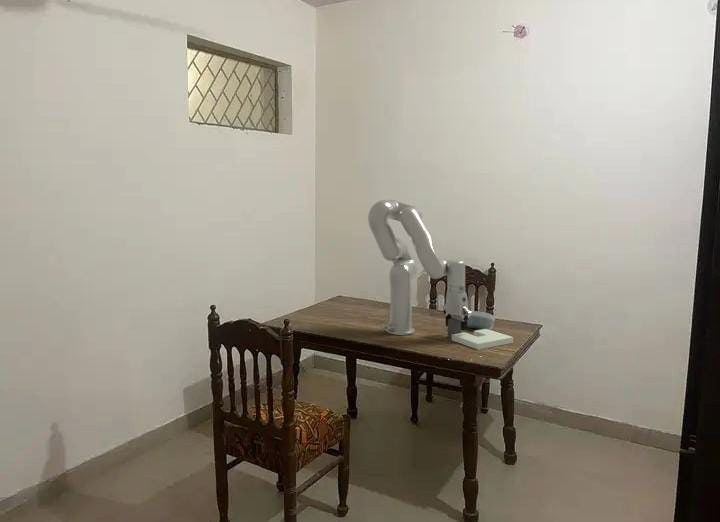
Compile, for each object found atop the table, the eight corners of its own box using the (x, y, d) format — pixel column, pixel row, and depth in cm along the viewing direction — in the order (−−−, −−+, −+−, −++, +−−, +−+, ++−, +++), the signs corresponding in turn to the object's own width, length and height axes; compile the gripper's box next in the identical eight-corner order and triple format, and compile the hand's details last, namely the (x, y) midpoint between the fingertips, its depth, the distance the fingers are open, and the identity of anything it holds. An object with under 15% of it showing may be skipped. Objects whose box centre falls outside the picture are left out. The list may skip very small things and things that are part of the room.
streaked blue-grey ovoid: (458, 321, 256) (468, 302, 256) (466, 327, 263) (477, 308, 264) (482, 334, 247) (493, 314, 247) (490, 339, 254) (501, 320, 255)
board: (478, 349, 223) (478, 343, 223) (451, 340, 236) (451, 334, 236) (513, 342, 233) (513, 337, 233) (485, 334, 247) (486, 328, 247)
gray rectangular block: (453, 339, 238) (454, 320, 237) (447, 336, 242) (448, 318, 241) (460, 337, 240) (461, 319, 239) (454, 335, 244) (455, 317, 243)
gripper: (476, 290, 233) (476, 330, 235) (449, 285, 247) (449, 322, 249) (463, 292, 229) (463, 333, 231) (436, 287, 243) (436, 325, 246)
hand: (456, 327), depth 240 cm, fingers open, 9 cm apart
